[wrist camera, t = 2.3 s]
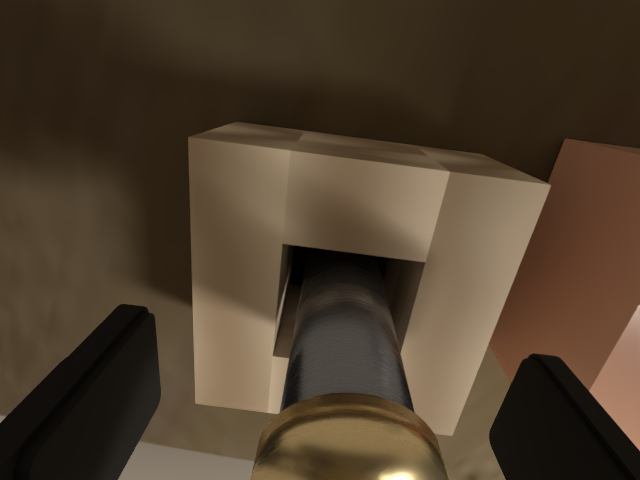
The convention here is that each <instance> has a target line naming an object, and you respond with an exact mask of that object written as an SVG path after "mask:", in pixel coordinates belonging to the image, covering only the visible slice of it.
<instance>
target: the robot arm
mask: <svg viewBox="0 0 640 480" xmlns="http://www.w3.org/2000/svg"><path fill="white" fill-rule="evenodd" d="M160 397H161V387H160V375H159V362H158V350H157V338H156V325H155V316H154V314H152V313H149V311H148V309H147V307H144V306H135V305H127V304H121V305H119V306H118V307H117V308H116V309H115V310H114V311H113V312H112V313H111V314H110V315H109V316H108V317H107V318H106V319H105V320H104V321H103V322H102V323H101V324H100V325H99V326H98V327H97V328H96V329H95V330H94V331H93V332H92V333H91V334H90V335H89V336H88V337H87V338H86V339H85V340H84V341H83V342H82V343H81V344H80V345H79V346H78V347H77V348H76V349H75V350H74V351H73V352H72V353H71V354H70V355H69V356H68V357H67V358H65V359H64V360H63V361H62V362H60V363H59V364H58V365H57V366H56V368H55V369H54V370H53V371H52V372H51V373H50V374H49V375H48V376H47V377H46V378H45V379H44V380H43V381H42V382H41V383H40V384H39V385H38V386H37V387H36V388H35V389H34V390H33V391H32V392H31V393H30V394H29V395H28V396H27V397H26V398H25V399H24V400H23V401H22V402H21V403H20V404H19V405H18V406H17V407H16V408H15V409H14V410H13V411H12V412H11V413H10V414H9V415H8V416H7V417H6V418H5V419H4V420H3V421H2V422H1V423H0V480H118V478H119V476H120V474H121V473H122V471H123V469H124V467H125V465H126V464H127V462H128V460H129V458H130V456H131V455H132V452H133V451H134V449H135V447H136V445H137V444H138V442H139V440H140V438H141V436H142V434H143V433H144V431H145V429H146V427H147V425H148V424H149V422H150V420H151V418H152V416H153V414H154V413H155V411H156V409H157V407H158V404H159V401H160ZM489 440H490V444H491V447H492V449H493V452H494V454H495V456H496V458H497V461H498V463H499V465H500V467H501V470H502V472H503V474H504V476H505V479H506V480H640V451H639V449H638V448H637V447H636V446H635V445H634V443H633V442H632V441H631V440H630V439H629V438H628V436H627V435H626V434H625V433H624V432H623V431H622V429H621V428H620V427H619V426H618V425H617V423H616V422H615V421H614V420H613V419H612V418H611V416H610V415H609V414H608V413H607V412H606V411H605V409H604V408H603V407H602V406H601V405H600V403H599V402H598V401H597V400H596V399H595V398H594V396H593V395H592V394H591V393H590V392H589V391H588V389H587V388H586V387H585V386H584V385H583V384H582V382H581V381H580V380H579V379H578V378H577V376H576V375H575V374H574V373H573V372H572V371H571V369H570V368H569V367H568V366H567V365H566V364H565V362H564V361H563V360H562V359H561V358H560V357H557V356H553V355H544V354H536V353H534V354H531V355H529V356H528V358H525V359H523V360H522V362H521V363H520V366H519V368H518V370H517V372H516V374H515V377H514V379H513V381H512V383H511V385H510V388H509V390H508V392H507V394H506V396H505V399H504V401H503V403H502V405H501V407H500V410H499V412H498V414H497V416H496V418H495V421H494V423H493V425H492V427H491V429H490V433H489Z"/></svg>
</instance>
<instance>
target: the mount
mask: <svg viewBox="0 0 640 480" xmlns="http://www.w3.org/2000/svg"><path fill="white" fill-rule="evenodd" d="M188 154H189V189H190V225H191V260H192V296H193V331H194V367H195V402H196V404H203V405H211V406H219V407H227V408H235V409H243V410H251V411H259V412H267V413H275V414H279V413H280V407H281V401H282V396H283V390H284V384H285V379H286V373H287V367H288V362H289V356H290V351H291V345H292V339H293V334H294V328H295V322H296V317H297V311H298V305H299V300H300V294H301V289H302V286H301V285H293V284H290V279H291V269H292V259H293V249H294V245H296V246H304V247H311V248H319V249H327V250H334V251H342V252H350V253H357V254H365V255H373V256H380V257H388V261H387V266H386V270H385V275H384V279H383V283H384V287H385V291H386V295H387V300H388V304H389V308H390V312H391V316H392V320H393V324H394V329H395V333H396V337H397V341H398V345H399V349H400V354H401V358H402V362H403V366H404V370H405V374H406V378H407V383H408V387H409V391H410V395H411V399H412V403H413V408H414V412H415V414H417V415H418V416H419V417H420V418H421V419H422V420H424V421H425V422H426V423H427V425H428V426H429V427H430V428H431V430H432V431H433V433H434V434H441V435H449V436H452V435H453V433H454V430H455V427H456V425H457V422H458V420H459V417H460V415H461V412H462V410H463V407H464V405H465V402H466V400H467V397H468V395H469V392H470V390H471V387H472V385H473V382H474V379H475V377H476V374H477V372H478V369H479V367H480V364H481V362H482V359H483V357H484V354H485V352H486V349H487V347H488V344H489V342H490V339H491V337H492V334H493V331H494V329H495V326H496V324H497V321H498V319H499V316H500V314H501V311H502V309H503V306H504V304H505V301H506V299H507V296H508V294H509V291H510V289H511V286H512V284H513V281H514V278H515V276H516V273H517V271H518V268H519V266H520V263H521V261H522V258H523V256H524V253H525V251H526V248H527V246H528V243H529V241H530V238H531V236H532V233H533V230H534V228H535V225H536V223H537V220H538V218H539V215H540V213H541V210H542V208H543V205H544V203H545V200H546V198H547V195H548V193H549V190H550V188H551V185H550V184H548V183H546V182H544V181H541V180H539V179H537V178H535V177H532V176H530V175H528V174H526V173H523V172H521V171H519V170H517V169H514V168H512V167H510V166H508V165H505V164H503V163H501V162H499V161H496V160H494V159H492V158H490V157H487V156H485V155H483V154H478V153H470V152H463V151H455V150H447V149H440V148H432V147H425V146H417V145H410V144H402V143H395V142H387V141H379V140H372V139H364V138H357V137H349V136H342V135H334V134H327V133H319V132H312V131H304V130H296V129H289V128H281V127H274V126H266V125H259V124H251V123H244V122H234V123H231V124H227V125H224V126H221V127H218V128H215V129H212V130H209V131H206V132H202V133H199V134H196V135H193V136H190V137H188Z"/></svg>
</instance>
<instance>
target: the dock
mask: <svg viewBox="0 0 640 480" xmlns="http://www.w3.org/2000/svg"><path fill="white" fill-rule="evenodd" d="M548 184H550V185H551V188H550V190H549V193H548V195H547V198H546V200H545V203H544V205H543V208H542V210H541V213H540V215H539V218H538V220H537V223H536V225H535V228H534V230H533V233H532V236H531V238H530V241H529V243H528V246H527V248H526V251H525V253H524V256H523V258H522V261H521V263H520V266H519V268H518V271H517V273H516V276H515V278H514V281H513V284H512V286H511V289H510V291H509V294H508V296H507V299H506V301H505V304H504V306H503V309H502V311H501V314H500V316H499V319H498V321H497V324H496V326H495V329H494V331H493V334H492V337H491V339H490V342H489V346H490V348H491V349H492V351H493V353H494V354H495V356H496V358H497V359H498V361H499V363H500V364H501V366H502V368H503V369H504V371H505V373H506V375H507V376H508V378H509V380H510V381H511V383H512V381H513V379H514V377H515V374H516V372H517V370H518V368H519V366H520V363H521V362H522V360H523V359H525V358H528V356H529V355H531V354H534V353H536V354H544V355H553V356H557V357H560V358H561V359H562V360H563V361H564V362H565V364H566V365H567V366H568V367H569V368H570V369H571V371H572V372H573V373H574V374H575V375H576V376H577V378H578V379H579V380H580V381H581V382H582V384H583V385H584V386H585V387H586V388H587V389H588V391H589V392H590V393H591V394H592V395H593V396H594V398H595V399H596V400H597V401H598V402H599V403H600V405H601V406H602V407H603V408H604V409H605V411H606V412H607V413H608V414H609V415H610V416H611V418H612V419H613V420H614V421H615V422H616V423H617V425H618V426H619V427H620V428H621V429H622V431H623V432H624V433H625V434H626V435H627V436H628V438H629V439H630V440H631V441H632V442H633V443H634V445H635V446H636V447H637V448H638V449H639V451H640V148H633V147H625V146H618V145H610V144H603V143H595V142H588V141H580V140H573V139H564V142H563V145H562V147H561V150H560V152H559V155H558V157H557V160H556V163H555V165H554V168H553V170H552V173H551V175H550V178H549V180H548Z"/></svg>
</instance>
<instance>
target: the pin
mask: <svg viewBox="0 0 640 480" xmlns="http://www.w3.org/2000/svg"><path fill="white" fill-rule="evenodd" d="M251 480H449V479H448V476H447V472H446V469H445V465H444V462H443V458H442V455H441V451H440V448H439V444H438V441H437V439H436V437H435V435H434V433H433V431H432V430H431V428H430V427H429V426H428V425H427V423H426V422H425V421H424V420H422V419H421V418H420V417H419V416H418V415H417V414H415V412H414V408H413V403H412V399H411V395H410V391H409V387H408V383H407V378H406V374H405V370H404V366H403V362H402V358H401V354H400V349H399V345H398V341H397V337H396V333H395V329H394V324H393V320H392V316H391V312H390V308H389V304H388V300H387V295H386V291H385V287H384V283H383V279H382V275H381V270H380V266H379V262H378V258H377V256H373V255H365V254H357V253H350V252H342V251H334V250H327V249H319V248H311V247H309V249H308V255H307V260H306V266H305V272H304V277H303V283H302V289H301V294H300V300H299V305H298V311H297V317H296V322H295V328H294V334H293V339H292V345H291V351H290V356H289V362H288V367H287V373H286V379H285V384H284V390H283V396H282V401H281V407H280V413H279V414H278V415H276V416H275V417H274V418H273V419H272V420H271V421H270V422H269V424H268V425H267V426H266V428H265V429H264V431H263V432H262V435H261V437H260V440H259V444H258V448H257V453H256V457H255V462H254V466H253V471H252V476H251Z"/></svg>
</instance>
